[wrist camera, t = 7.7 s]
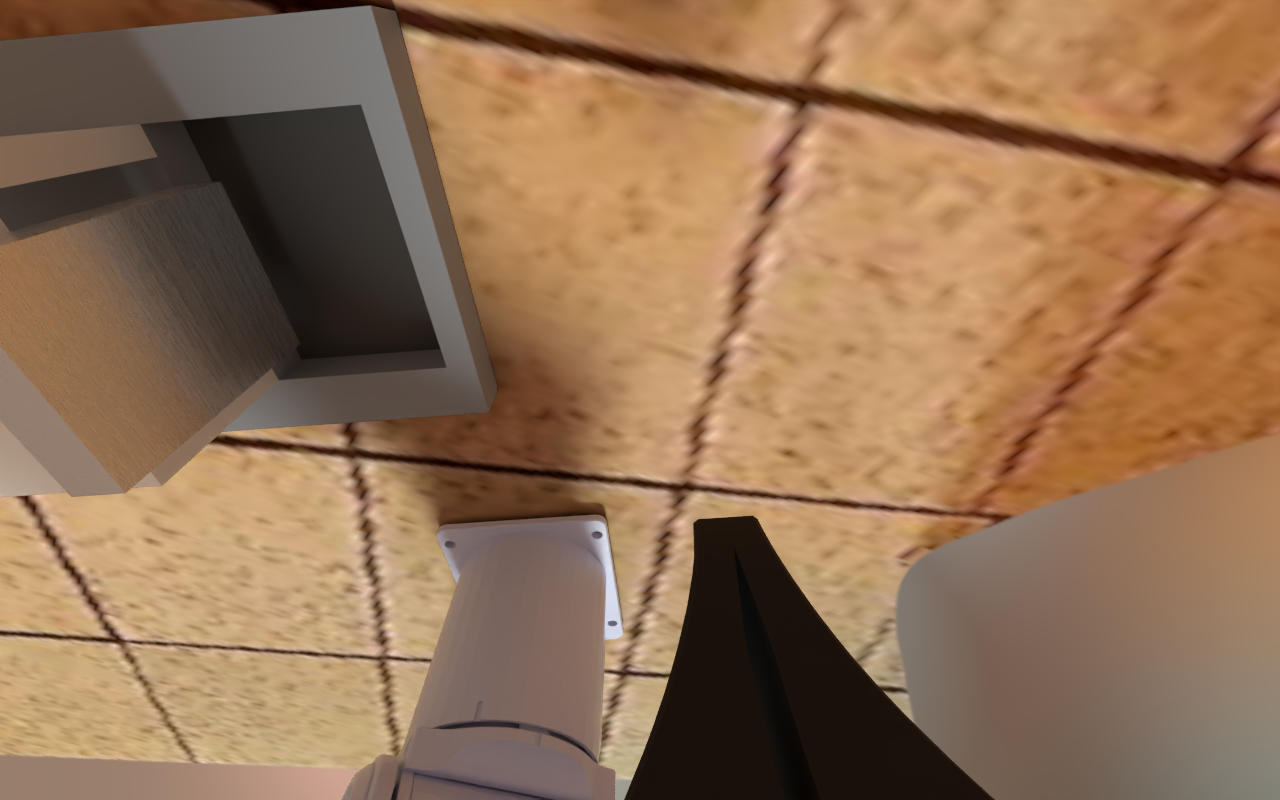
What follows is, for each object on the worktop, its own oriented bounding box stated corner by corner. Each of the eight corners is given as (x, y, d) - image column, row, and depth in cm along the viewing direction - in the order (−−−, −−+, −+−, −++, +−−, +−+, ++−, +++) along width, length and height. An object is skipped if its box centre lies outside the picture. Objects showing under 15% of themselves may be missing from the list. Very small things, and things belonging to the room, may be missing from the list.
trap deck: (497, 389, 20) (488, 412, 19) (-48, 429, 21) (-95, 454, 20) (395, 11, 14) (370, 5, 12) (-397, 85, 14) (-502, 88, 13)
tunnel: (278, 380, 18) (161, 485, 14) (113, 392, 18) (-57, 501, 14) (140, 123, 14) (-101, 154, 9) (-76, 143, 14) (-417, 182, 9)
